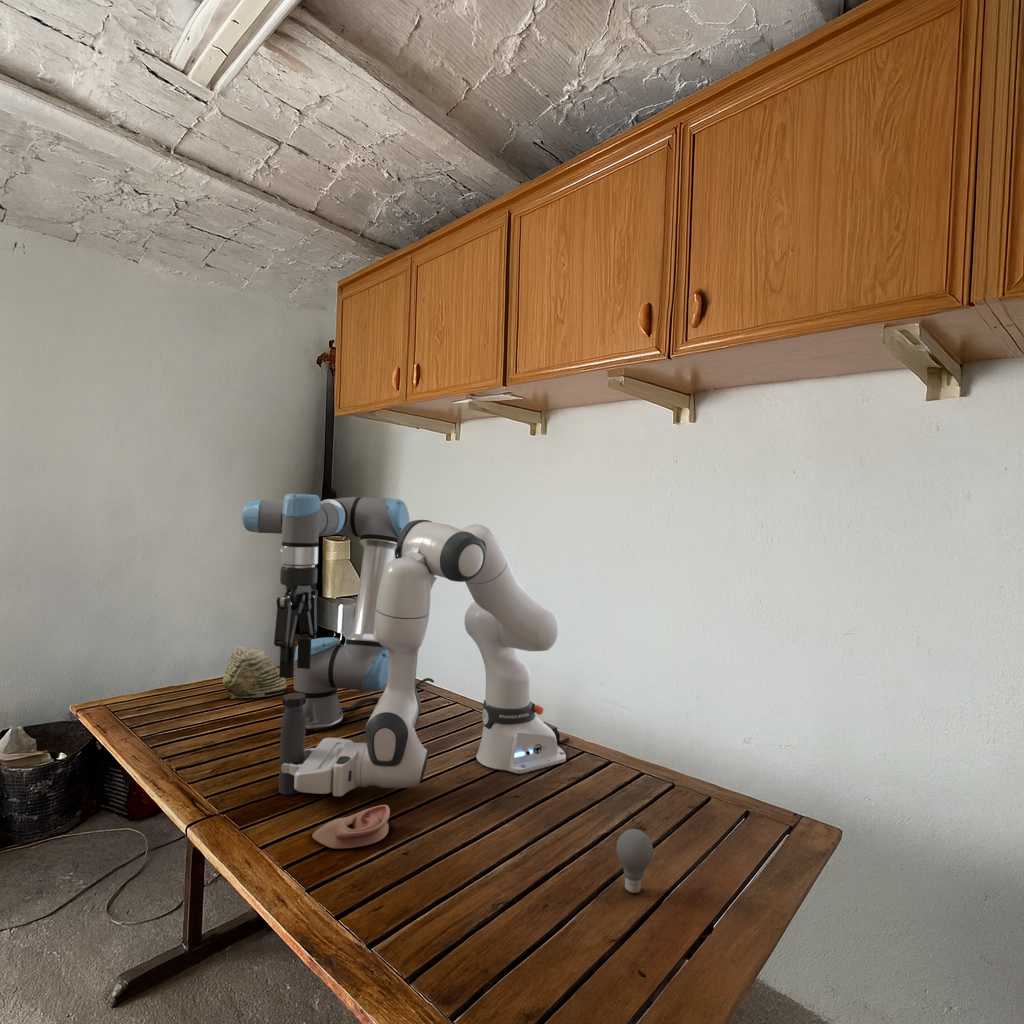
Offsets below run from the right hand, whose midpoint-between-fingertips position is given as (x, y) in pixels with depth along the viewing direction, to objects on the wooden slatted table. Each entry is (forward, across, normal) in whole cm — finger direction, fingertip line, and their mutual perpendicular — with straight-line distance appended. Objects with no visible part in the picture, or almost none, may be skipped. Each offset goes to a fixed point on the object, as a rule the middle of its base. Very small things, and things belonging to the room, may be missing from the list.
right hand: (287, 761), depth 136 cm
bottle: (-1, 0, +6) cm, 6 cm away
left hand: (-1, 0, -19) cm, 19 cm away
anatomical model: (-18, +17, +6) cm, 26 cm away
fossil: (+32, -61, +6) cm, 70 cm away
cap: (-1, 0, -14) cm, 14 cm away
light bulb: (-69, +30, +6) cm, 76 cm away
